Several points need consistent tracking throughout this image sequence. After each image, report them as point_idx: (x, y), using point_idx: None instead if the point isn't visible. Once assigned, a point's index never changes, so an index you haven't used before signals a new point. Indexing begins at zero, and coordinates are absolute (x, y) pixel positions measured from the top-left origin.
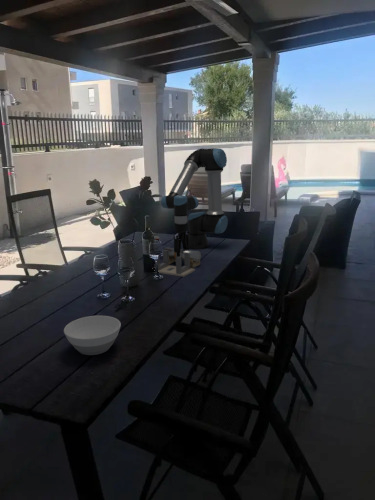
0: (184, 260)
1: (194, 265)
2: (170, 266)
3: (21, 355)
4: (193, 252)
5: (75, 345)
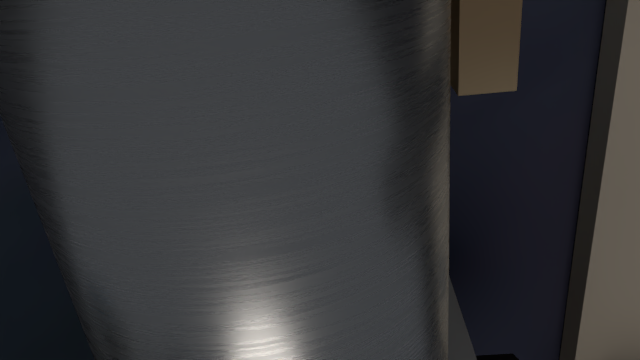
0: None
1: None
2: (637, 316)
3: None
4: (349, 14)
5: None
